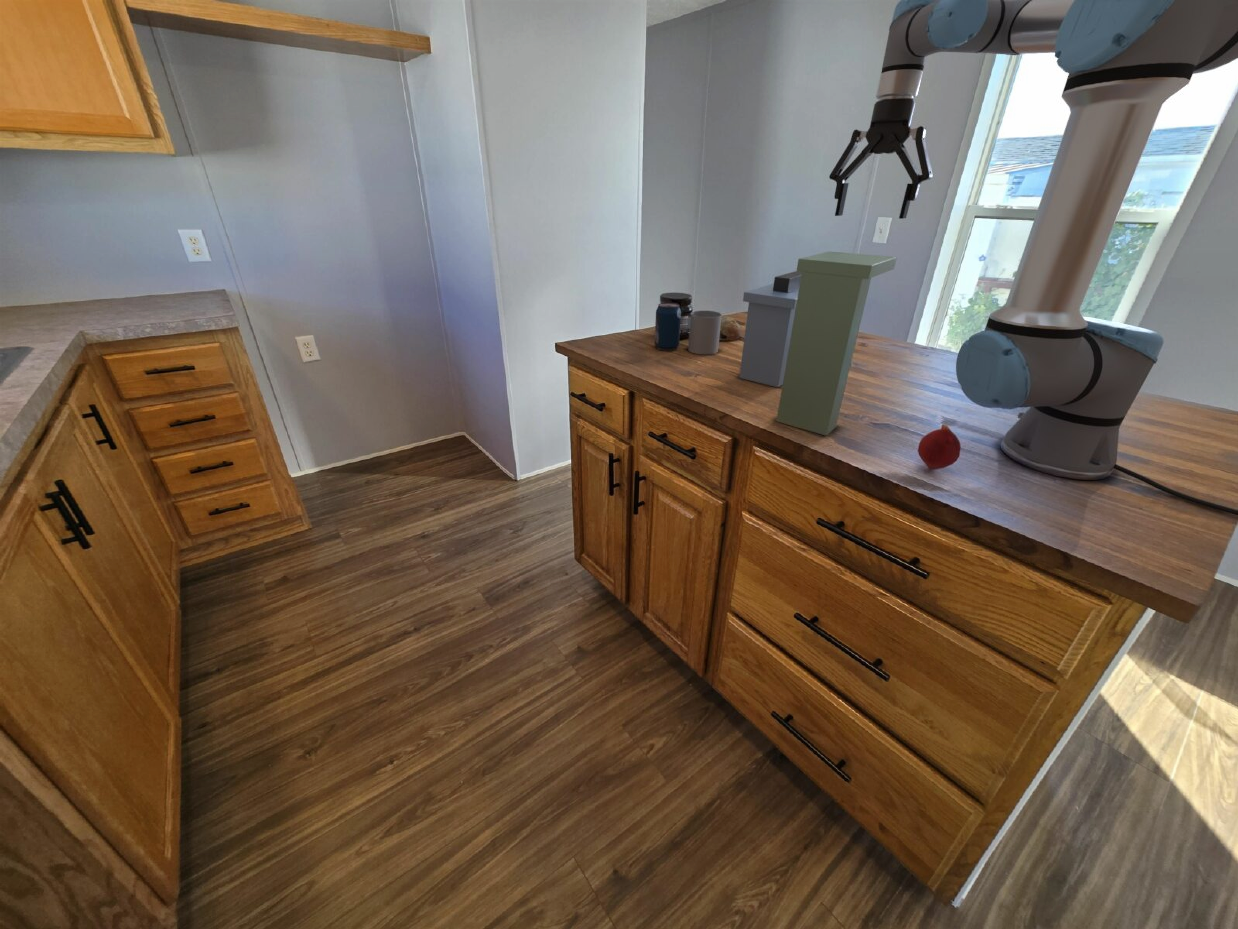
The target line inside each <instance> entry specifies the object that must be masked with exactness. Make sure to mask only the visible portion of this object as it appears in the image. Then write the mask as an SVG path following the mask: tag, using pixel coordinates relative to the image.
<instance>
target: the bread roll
mask: <svg viewBox="0 0 1238 929" xmlns="http://www.w3.org/2000/svg"><path fill="white" fill-rule="evenodd" d="M740 337H741V326H740V324H739V323H738V322H737V321H736V320H735V319H734V318H733V317H731V316H726V315H722V316H721V326H720V336H719V341H725V342H727V341H729V342H734V341H737V340H739V338H740Z"/></svg>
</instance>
